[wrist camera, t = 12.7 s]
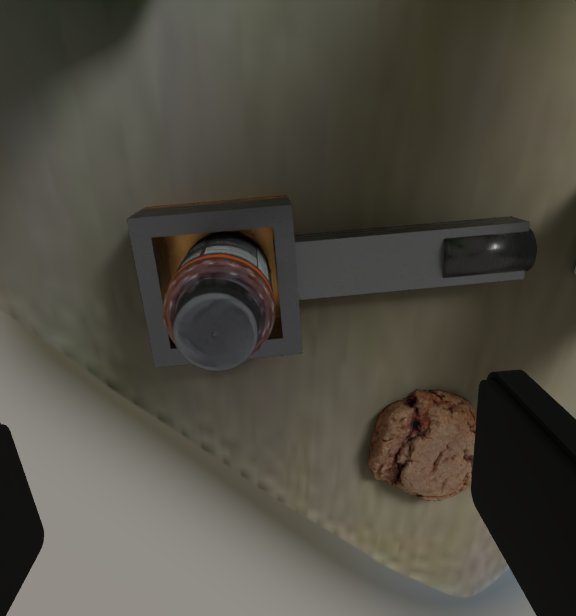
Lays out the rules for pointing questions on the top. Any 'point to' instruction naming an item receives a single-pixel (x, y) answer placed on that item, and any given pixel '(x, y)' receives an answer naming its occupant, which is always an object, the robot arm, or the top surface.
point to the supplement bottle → (220, 302)
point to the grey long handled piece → (320, 259)
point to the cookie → (425, 445)
